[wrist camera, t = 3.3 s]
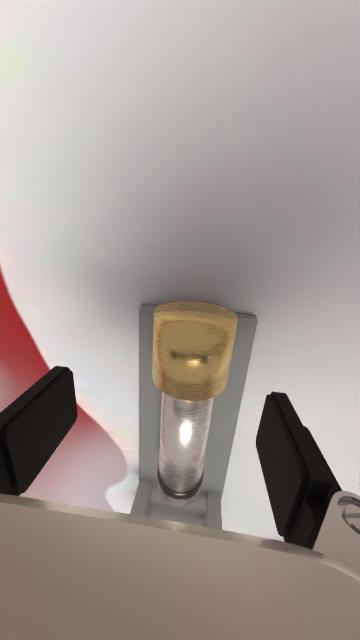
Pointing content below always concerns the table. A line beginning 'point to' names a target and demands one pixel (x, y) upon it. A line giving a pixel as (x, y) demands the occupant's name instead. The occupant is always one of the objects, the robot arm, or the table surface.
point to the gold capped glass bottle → (188, 388)
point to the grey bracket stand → (219, 435)
